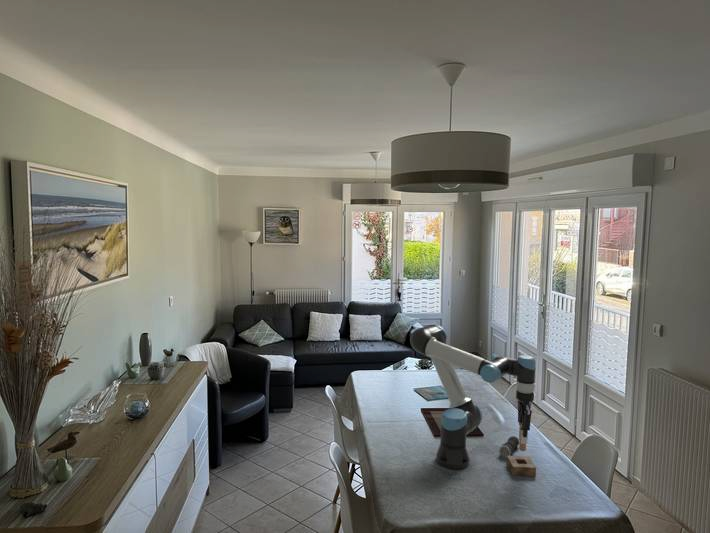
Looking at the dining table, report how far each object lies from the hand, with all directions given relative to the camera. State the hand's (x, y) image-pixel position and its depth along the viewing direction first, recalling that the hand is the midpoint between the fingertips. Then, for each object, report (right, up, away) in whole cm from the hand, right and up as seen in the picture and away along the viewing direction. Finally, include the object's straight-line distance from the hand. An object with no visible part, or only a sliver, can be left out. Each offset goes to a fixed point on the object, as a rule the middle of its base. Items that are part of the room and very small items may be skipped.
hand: (523, 441), depth 213 cm
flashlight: (0, -12, +19) cm, 23 cm away
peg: (0, -4, 0) cm, 4 cm away
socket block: (0, -13, +1) cm, 13 cm away
